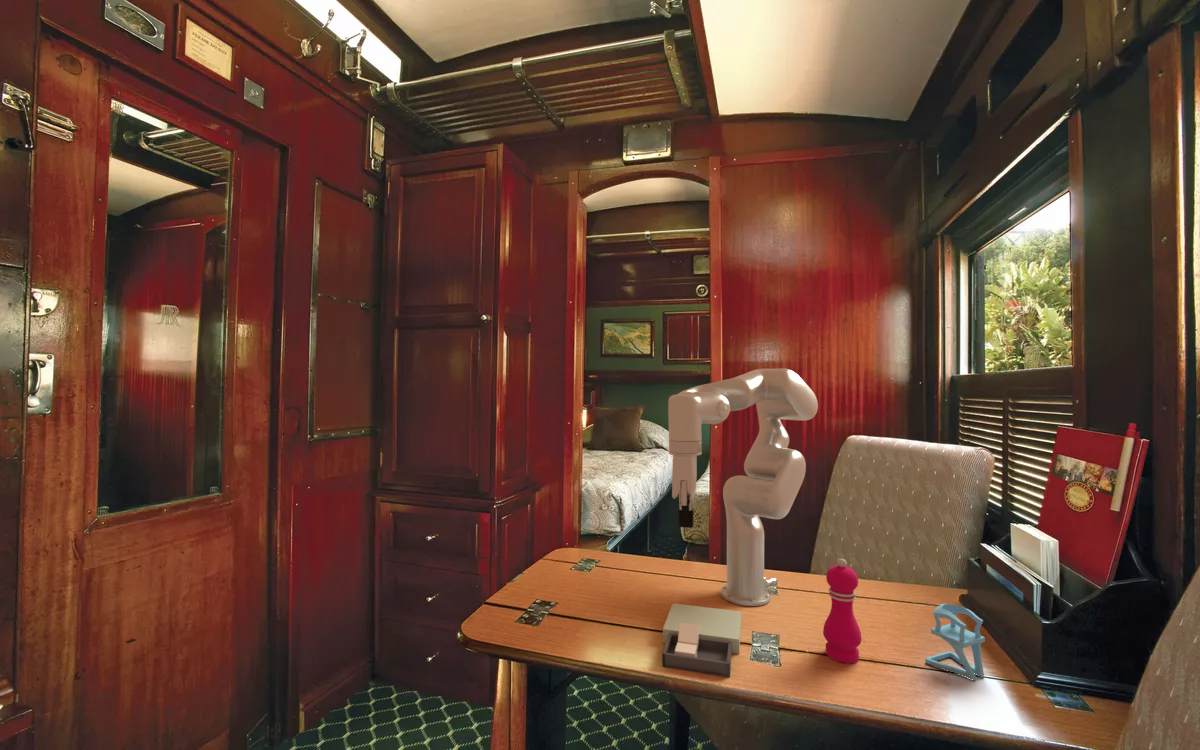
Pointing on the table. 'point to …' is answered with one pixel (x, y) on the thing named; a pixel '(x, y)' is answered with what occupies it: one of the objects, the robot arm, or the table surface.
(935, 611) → the phone stand
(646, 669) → the table surface
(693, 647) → the tile front
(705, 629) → the beige flat slab
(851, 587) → the pepper mill
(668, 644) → the box
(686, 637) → the tile rear
